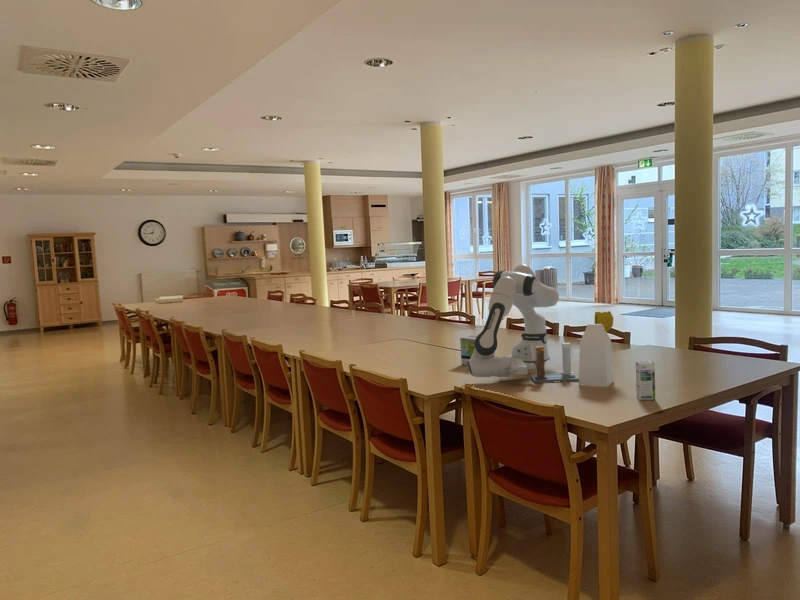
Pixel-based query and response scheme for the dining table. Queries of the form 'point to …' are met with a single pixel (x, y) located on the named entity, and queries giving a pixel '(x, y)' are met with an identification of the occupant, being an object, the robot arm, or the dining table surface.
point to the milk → (595, 357)
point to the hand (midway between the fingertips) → (535, 365)
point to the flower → (604, 319)
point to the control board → (555, 377)
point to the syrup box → (645, 380)
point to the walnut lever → (540, 363)
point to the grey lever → (566, 359)
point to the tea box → (467, 348)
